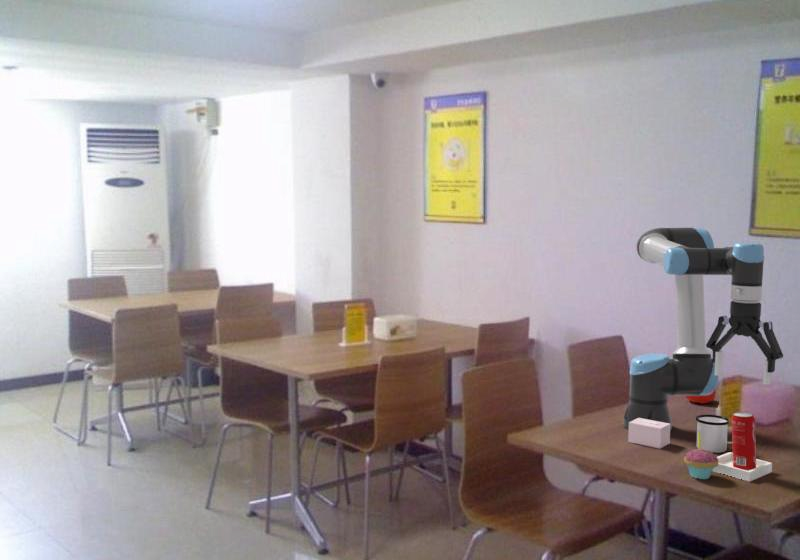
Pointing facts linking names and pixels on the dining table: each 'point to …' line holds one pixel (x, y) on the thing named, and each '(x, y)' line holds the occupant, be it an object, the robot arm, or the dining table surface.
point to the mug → (713, 432)
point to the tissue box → (649, 433)
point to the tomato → (702, 398)
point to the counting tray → (727, 468)
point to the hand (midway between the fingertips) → (742, 379)
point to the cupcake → (700, 461)
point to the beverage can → (743, 441)
